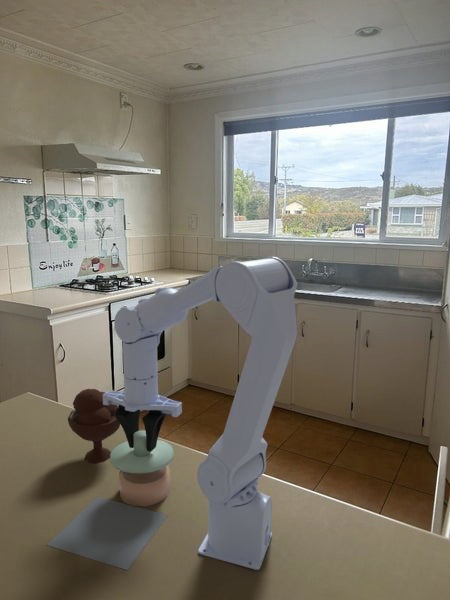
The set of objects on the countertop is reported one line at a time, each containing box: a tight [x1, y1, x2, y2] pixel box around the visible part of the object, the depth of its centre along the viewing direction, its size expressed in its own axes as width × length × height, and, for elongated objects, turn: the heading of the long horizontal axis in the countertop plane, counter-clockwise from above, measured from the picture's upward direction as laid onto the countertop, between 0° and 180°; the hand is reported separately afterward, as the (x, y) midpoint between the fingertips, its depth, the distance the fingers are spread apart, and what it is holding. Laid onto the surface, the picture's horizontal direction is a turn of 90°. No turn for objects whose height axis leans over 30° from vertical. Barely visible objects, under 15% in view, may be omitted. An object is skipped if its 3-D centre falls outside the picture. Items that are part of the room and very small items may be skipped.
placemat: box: [46, 496, 169, 571], centre depth 72 cm, size 14×13×1 cm
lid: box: [109, 429, 174, 474], centre depth 80 cm, size 11×11×4 cm
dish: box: [118, 464, 171, 507], centre depth 81 cm, size 9×9×4 cm
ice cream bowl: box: [67, 388, 121, 464], centre depth 92 cm, size 11×11×15 cm
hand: (142, 447), depth 80 cm, fingers closed on lid, 3 cm apart
